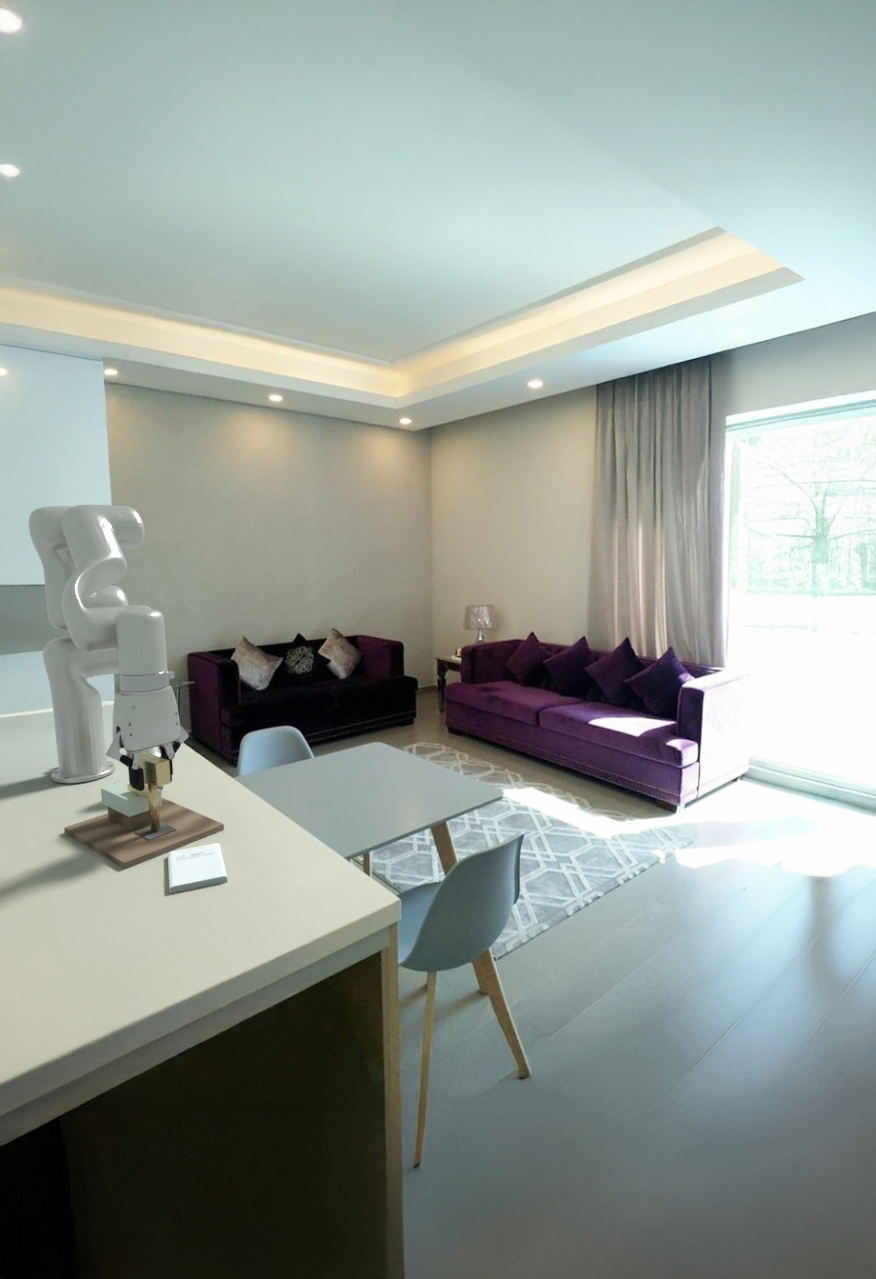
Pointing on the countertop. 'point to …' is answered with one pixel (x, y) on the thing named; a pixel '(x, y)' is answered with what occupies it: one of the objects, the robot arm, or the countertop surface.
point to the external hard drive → (196, 867)
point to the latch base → (142, 833)
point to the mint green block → (125, 799)
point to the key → (153, 784)
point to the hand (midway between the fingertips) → (152, 783)
